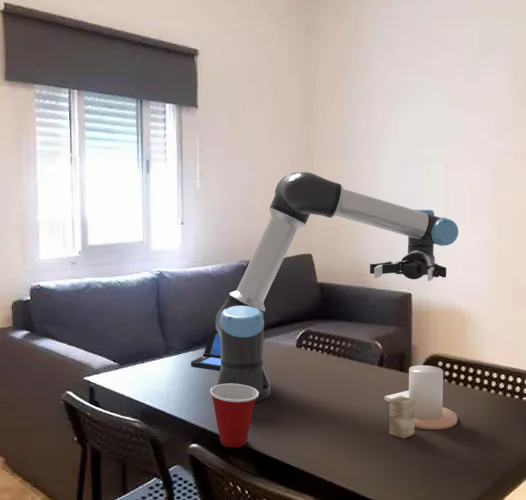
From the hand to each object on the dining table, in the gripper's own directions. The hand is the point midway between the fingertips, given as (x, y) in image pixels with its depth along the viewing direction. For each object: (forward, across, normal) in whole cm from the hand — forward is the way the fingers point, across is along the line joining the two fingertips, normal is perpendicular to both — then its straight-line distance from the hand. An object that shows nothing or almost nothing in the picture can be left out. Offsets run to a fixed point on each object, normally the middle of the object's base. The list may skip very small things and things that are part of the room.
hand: (401, 274), depth 160 cm
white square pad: (-2, -3, -34) cm, 34 cm away
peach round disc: (+9, -8, -34) cm, 36 cm away
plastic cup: (+40, +29, -34) cm, 60 cm away
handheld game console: (-16, +60, -34) cm, 71 cm away
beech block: (+21, -4, -34) cm, 40 cm away
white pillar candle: (+9, -8, -33) cm, 35 cm away
